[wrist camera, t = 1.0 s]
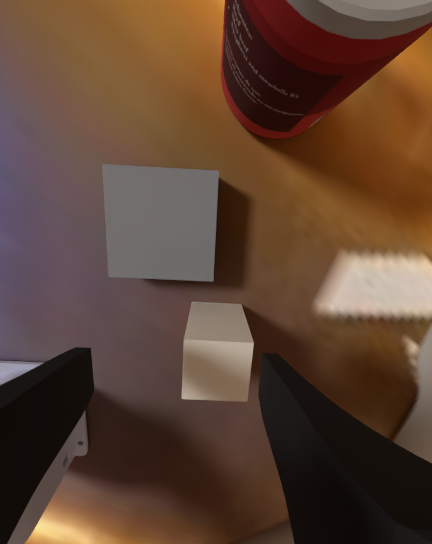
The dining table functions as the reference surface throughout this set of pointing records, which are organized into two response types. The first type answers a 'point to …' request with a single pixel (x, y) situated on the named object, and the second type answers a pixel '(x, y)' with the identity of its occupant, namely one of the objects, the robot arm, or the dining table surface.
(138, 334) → the dining table surface
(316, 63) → the canned food
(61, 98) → the dining table surface
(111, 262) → the grey square block
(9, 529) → the robot arm
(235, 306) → the cream block
